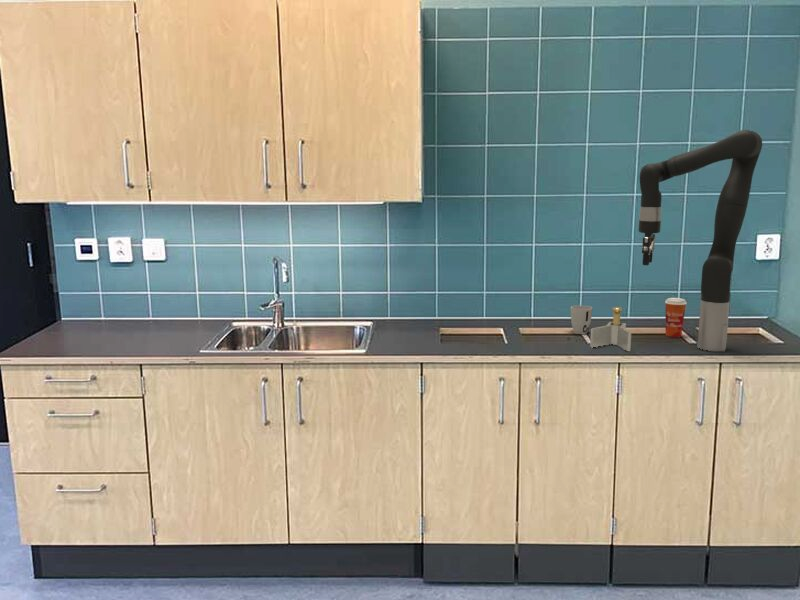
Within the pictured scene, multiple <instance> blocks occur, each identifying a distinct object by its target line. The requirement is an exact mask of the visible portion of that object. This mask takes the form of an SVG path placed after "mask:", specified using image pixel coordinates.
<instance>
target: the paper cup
mask: <svg viewBox="0 0 800 600" xmlns="http://www.w3.org/2000/svg"><path fill="white" fill-rule="evenodd" d="M664 303H665V309H664V310H665V312H664V313H665V336H666V337H670V338H680V337H682V334H683V333H682V332H683V327H684V319H685V312H686V305H688V303H687V301H686V299H684V298H680V297H668V298H667V299H665V301H664Z"/></svg>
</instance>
